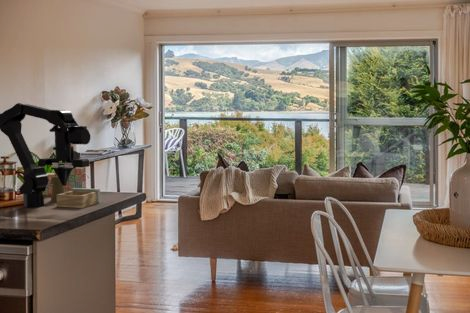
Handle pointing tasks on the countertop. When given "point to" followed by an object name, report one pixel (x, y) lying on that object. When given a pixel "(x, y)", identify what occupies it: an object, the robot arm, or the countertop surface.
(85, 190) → the track and backstop
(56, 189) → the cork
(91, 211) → the countertop surface
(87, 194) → the socket block
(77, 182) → the stack of blocks
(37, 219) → the countertop surface
